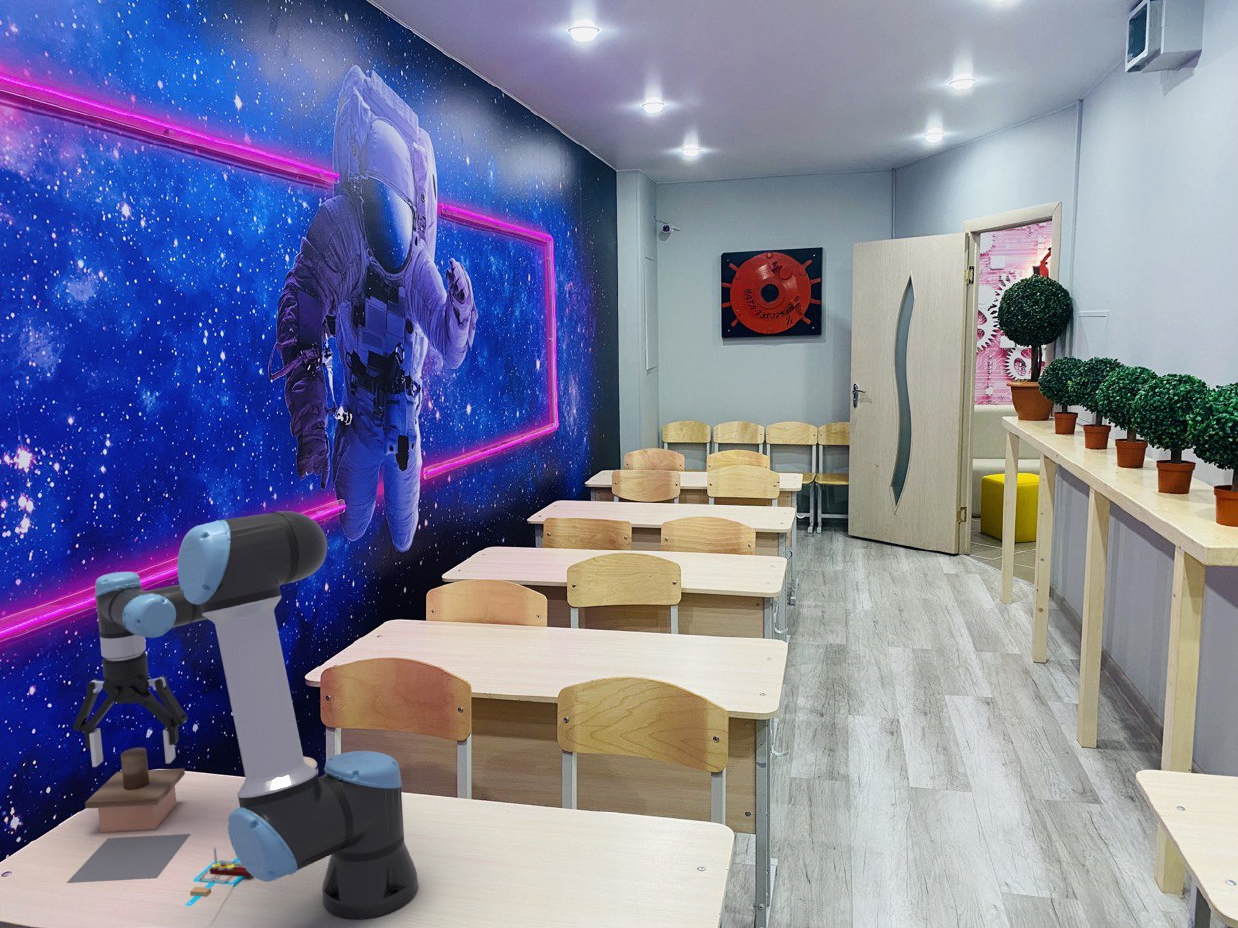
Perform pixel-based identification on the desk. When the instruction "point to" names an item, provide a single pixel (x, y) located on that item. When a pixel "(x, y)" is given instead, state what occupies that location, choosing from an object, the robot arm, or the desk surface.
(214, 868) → the gear mechanism
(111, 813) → the square bowl
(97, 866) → the rubber mat
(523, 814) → the desk surface
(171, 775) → the walnut lid
